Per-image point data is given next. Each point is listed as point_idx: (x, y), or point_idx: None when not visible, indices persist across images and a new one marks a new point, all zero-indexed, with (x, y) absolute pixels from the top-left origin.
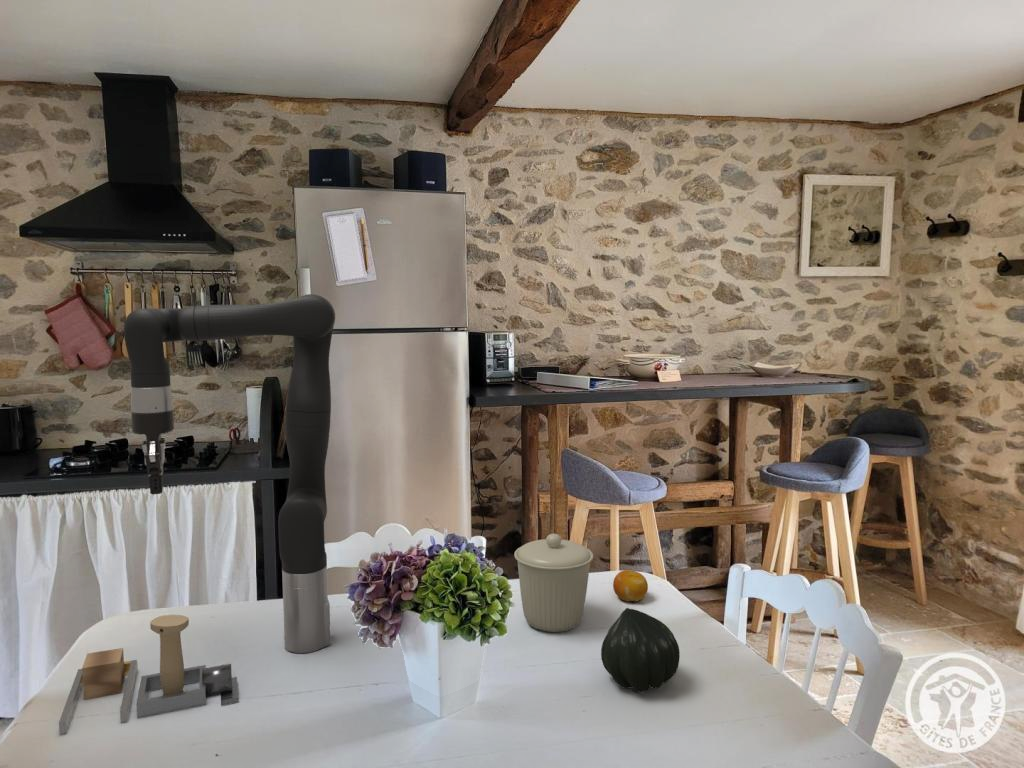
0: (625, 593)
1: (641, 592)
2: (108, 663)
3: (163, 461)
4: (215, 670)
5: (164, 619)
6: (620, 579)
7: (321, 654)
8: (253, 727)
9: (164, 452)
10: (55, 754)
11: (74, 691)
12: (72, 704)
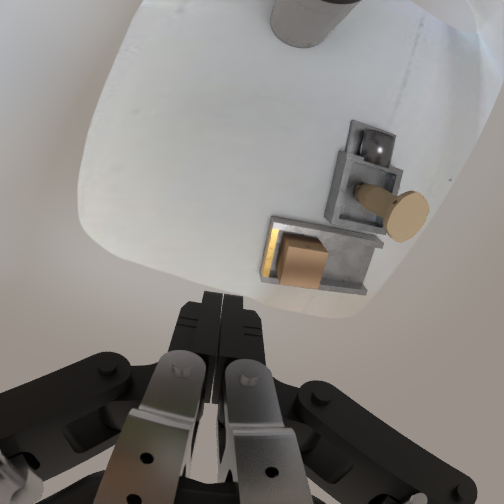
0: None
1: None
2: (324, 264)
3: (297, 445)
4: (388, 152)
5: (401, 223)
6: None
7: None
8: (435, 141)
9: (106, 475)
10: (374, 288)
11: None
12: (336, 285)
